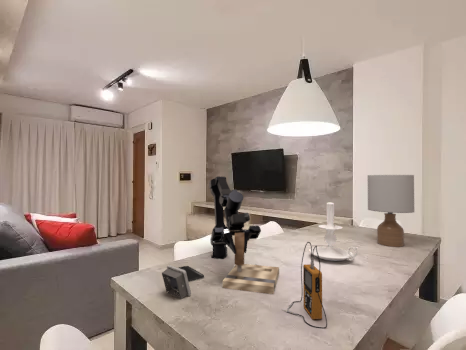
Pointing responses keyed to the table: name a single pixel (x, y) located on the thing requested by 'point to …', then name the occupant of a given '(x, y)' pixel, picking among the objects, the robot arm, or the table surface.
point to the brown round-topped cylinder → (239, 250)
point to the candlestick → (332, 240)
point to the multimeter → (311, 290)
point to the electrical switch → (176, 282)
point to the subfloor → (252, 278)
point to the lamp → (391, 204)
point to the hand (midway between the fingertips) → (240, 253)
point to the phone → (192, 273)
